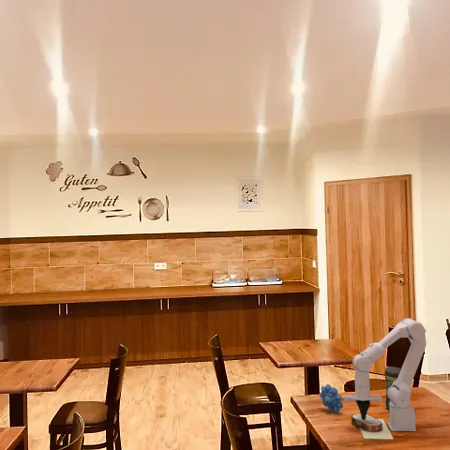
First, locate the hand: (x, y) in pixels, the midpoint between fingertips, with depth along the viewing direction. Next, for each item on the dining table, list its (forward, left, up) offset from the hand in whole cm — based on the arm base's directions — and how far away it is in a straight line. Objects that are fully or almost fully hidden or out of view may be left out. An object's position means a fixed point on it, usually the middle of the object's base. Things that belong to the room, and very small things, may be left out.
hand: (363, 418), depth 199 cm
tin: (+2, -1, -2) cm, 3 cm away
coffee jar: (-18, -23, -4) cm, 30 cm away
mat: (-4, 0, -4) cm, 6 cm away
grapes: (+12, -18, -4) cm, 22 cm away
